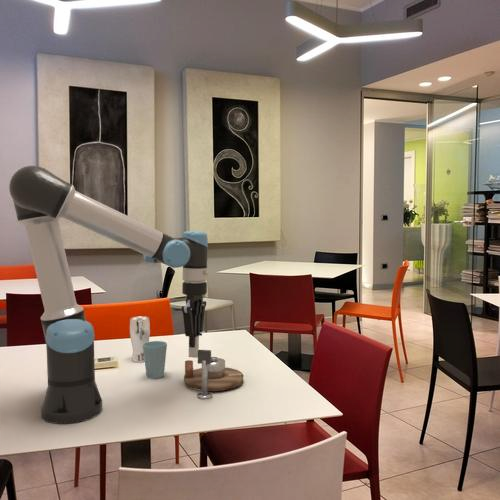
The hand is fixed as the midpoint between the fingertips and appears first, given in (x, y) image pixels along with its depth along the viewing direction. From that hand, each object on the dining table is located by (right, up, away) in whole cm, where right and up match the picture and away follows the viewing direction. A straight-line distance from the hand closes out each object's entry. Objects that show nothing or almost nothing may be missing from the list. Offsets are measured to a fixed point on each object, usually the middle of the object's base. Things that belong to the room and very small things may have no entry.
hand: (193, 356), depth 161 cm
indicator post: (+5, -8, -14) cm, 17 cm away
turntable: (+6, -8, -2) cm, 10 cm away
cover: (+6, -5, -2) cm, 9 cm away
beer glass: (-21, -6, +23) cm, 32 cm away
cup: (-13, -7, +5) cm, 16 cm away
